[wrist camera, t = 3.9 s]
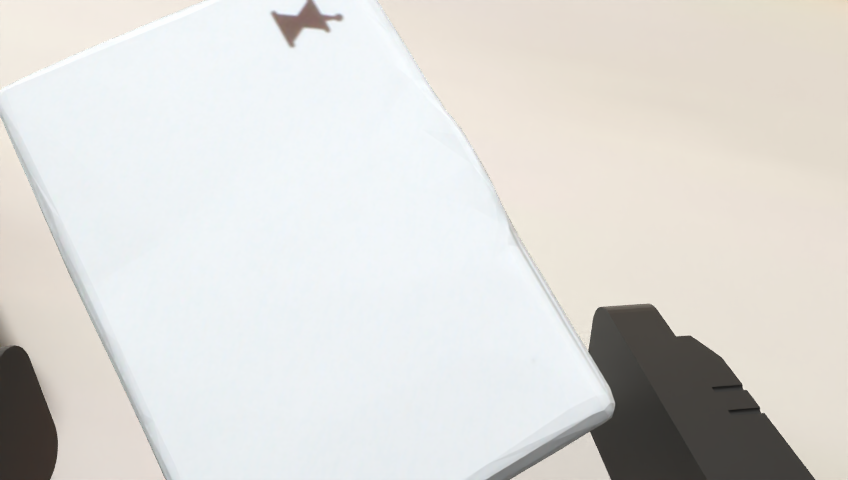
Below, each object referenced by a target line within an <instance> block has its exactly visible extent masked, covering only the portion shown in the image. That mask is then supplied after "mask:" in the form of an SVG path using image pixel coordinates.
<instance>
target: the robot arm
mask: <svg viewBox="0 0 848 480" xmlns="http://www.w3.org/2000/svg"><path fill="white" fill-rule="evenodd" d="M588 352H589V354H590V355H591V357H592V359H593V360H594V362H595V364H596V365H597V367H598V369H599V370H600V372H601V374H602V375H603V377H604V379H605V380H606V382H607V384H608V385H609V387H610V389H611V392H612V395H613V398H614V401H615V409H614V412H613V415H612V418H610V419H609V420H608V421H606V422H605V423H603V424H602V425H600V426H598V427H597V428H595V429H593V430H591V431H590V432H591V435H592V437H593V439H594V442H595V444H596V446H597V448H598V451H599V453H600V455H601V458H602V460H603V462H604V464H605V467H606V469H607V471H608V474H609V476H610V478H611V480H815V479H814V477H813V476H812V475H811V473H810V472H809V471H808V469H807V468H806V467H805V466H804V464H803V463H802V462H801V460H800V459H799V458H798V456H797V455H796V454H795V452H794V451H793V450H792V449H791V447H790V446H789V445H788V443H787V442H786V441H785V439H784V438H783V437H782V436H781V434H780V433H779V432H778V430H777V429H776V428H775V426H774V425H773V424H772V423H771V421H770V420H769V419H768V417H767V416H766V415H765V413H762V414H761V412H760V407H759V406H758V404H757V403H756V402H755V400H754V399H753V398H752V396H751V395H750V394H749V393H748V391H747V390H743V388H742V383H741V382H740V381H739V379H738V378H737V377H736V376H735V374H734V373H733V372H732V370H731V369H730V368H729V366H728V365H727V364H726V363H725V361H724V360H723V359H722V357H720V356H719V355H717V354H716V353H714V352H713V351H712V350H710V349H709V348H707V347H706V346H704V345H703V344H702V343H700V342H699V341H697V340H696V339H694V338H693V337H692V336H678V337H676V336H675V335H674V333H673V332H672V330H671V329H670V327H669V326H668V325H667V323H666V322H665V320H664V319H663V318H662V316H661V315H660V313H659V312H658V310H657V309H656V308H655V307H654V306H653V305H651V304H637V305H623V306H608V307H599V308H598V309H597V310H596V312H595V314H594V318H593V323H592V330H591V337H590V344H589V351H588ZM57 451H58V439H57V432H56V428H55V425H54V422H53V419H52V417H51V414H50V411H49V409H48V406H47V403H46V401H45V398H44V395H43V393H42V390H41V387H40V385H39V382H38V379H37V377H36V374H35V371H34V369H33V366H32V364H31V361H30V359H29V356H28V354H27V353H26V351H25V350H24V349H23V348H21V347H19V346H3V347H0V480H50V478H51V476H52V473H53V471H54V468H55V464H56V459H57Z"/></svg>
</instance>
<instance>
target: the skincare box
mask: <svg viewBox="0 0 848 480" xmlns="http://www.w3.org/2000/svg"><path fill="white" fill-rule="evenodd" d="M0 116H1V119H2V121H3V123H4V125H5V128H6V130H7V132H8V135H9V137H10V139H11V142H12V144H13V146H14V149H15V151H16V153H17V156H18V158H19V160H20V162H21V165H22V167H23V169H24V172H25V174H26V176H27V178H28V181H29V183H30V185H31V187H32V190H33V192H34V194H35V197H36V199H37V201H38V204H39V206H40V208H41V211H42V213H43V215H44V217H45V220H46V222H47V224H48V226H49V229H50V231H51V233H52V236H53V238H54V240H55V242H56V245H57V247H58V249H59V251H60V254H61V256H62V258H63V261H64V263H65V265H66V267H67V270H68V272H69V274H70V276H71V278H72V281H73V283H74V285H75V287H76V289H77V291H78V293H79V295H80V297H81V299H82V302H83V304H84V306H85V308H86V310H87V312H88V314H89V316H90V318H91V321H92V323H93V325H94V327H95V329H96V331H97V333H98V335H99V337H100V339H101V341H102V344H103V346H104V348H105V350H106V352H107V354H108V356H109V358H110V360H111V362H112V365H113V367H114V369H115V371H116V373H117V375H118V377H119V379H120V381H121V383H122V385H123V388H124V390H125V392H126V394H127V396H128V398H129V400H130V402H131V405H132V407H133V409H134V411H135V413H136V415H137V418H138V420H139V422H140V424H141V426H142V428H143V431H144V433H145V435H146V437H147V439H148V441H149V444H150V446H151V448H152V450H153V452H154V455H155V457H156V459H157V461H158V464H159V466H160V468H161V470H162V473H163V475H164V477H165V479H166V480H510V479H511V478H513V477H515V476H516V475H518V474H520V473H521V472H523V471H525V470H526V469H528V468H530V467H532V466H533V465H535V464H537V463H538V462H540V461H542V460H543V459H545V458H547V457H548V456H550V455H552V454H554V453H555V452H557V451H559V450H560V449H562V448H564V447H565V446H567V445H569V444H570V443H572V442H573V441H575V440H577V439H578V438H580V437H581V436H583V435H585V434H586V433H588V432H590V431H591V430H593V429H595V428H597V427H598V426H600V425H602V424H603V423H605V422H606V421H608V420H609V419H610V418H612V415H613V412H614V409H615V401H614V398H613V395H612V392H611V389H610V387H609V385H608V384H607V382H606V380H605V379H604V377H603V375H602V374H601V372H600V370H599V369H598V367H597V365H596V364H595V362H594V360H593V359H592V357H591V355H590V354H589V352H588V350H587V349H586V347H585V345H584V344H583V342H582V340H581V339H580V337H579V335H578V334H577V332H576V331H575V329H574V327H573V326H572V324H571V322H570V321H569V319H568V317H567V316H566V314H565V312H564V311H563V309H562V307H561V306H560V304H559V302H558V301H557V299H556V298H555V296H554V294H553V293H552V291H551V289H550V287H549V286H548V284H547V282H546V280H545V279H544V277H543V275H542V273H541V272H540V270H539V269H538V267H537V265H536V264H535V262H534V261H533V259H532V257H531V255H530V254H529V252H528V250H527V249H526V247H525V245H524V244H523V242H522V240H521V239H520V237H519V235H518V234H517V232H516V230H515V228H514V226H513V224H512V222H511V221H510V219H509V217H508V215H507V213H506V211H505V209H504V208H503V206H502V203H501V201H500V199H499V197H498V195H497V193H496V190H495V188H494V186H493V184H492V182H491V180H490V178H489V176H488V174H487V172H486V170H485V168H484V166H483V165H482V163H481V161H480V159H479V158H478V156H477V154H476V153H475V151H474V149H473V147H472V146H471V144H470V142H469V141H468V139H467V137H466V136H465V134H464V132H463V131H462V129H461V128H460V127H459V125H458V124H457V123H456V121H455V120H454V119H453V117H452V116H451V115H450V114H449V113H448V112H447V111H446V109H445V108H444V106H443V105H442V103H441V102H440V100H439V98H438V97H437V95H436V94H435V93H434V91H433V90H432V88H431V87H430V85H429V83H428V82H427V80H426V78H425V77H424V75H423V73H422V72H421V70H420V68H419V67H418V65H417V63H416V62H415V60H414V58H413V57H412V55H411V53H410V52H409V50H408V48H407V47H406V45H405V44H404V42H403V41H402V39H401V37H400V36H399V34H398V33H397V31H396V29H395V28H394V26H393V25H392V23H391V22H390V20H389V18H388V17H387V15H386V14H385V12H384V10H383V9H382V7H381V5H380V4H379V2H378V0H204V1H202V2H199V3H197V4H194V5H192V6H189V7H187V8H185V9H182V10H180V11H177V12H175V13H172V14H170V15H167V16H165V17H162V18H160V19H157V20H155V21H153V22H150V23H148V24H146V25H143V26H141V27H139V28H137V29H134V30H132V31H129V32H127V33H125V34H122V35H120V36H117V37H115V38H112V39H110V40H108V41H105V42H103V43H100V44H98V45H96V46H93V47H91V48H88V49H86V50H84V51H81V52H79V53H77V54H74V55H72V56H70V57H68V58H65V59H63V60H61V61H59V62H57V63H54V64H52V65H50V66H48V67H45V68H43V69H41V70H39V71H37V72H35V73H32V74H30V75H28V76H26V77H24V78H22V79H19V80H17V81H15V82H13V83H11V84H9V85H7V86H6V87H4V88H2V89H0Z"/></svg>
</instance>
